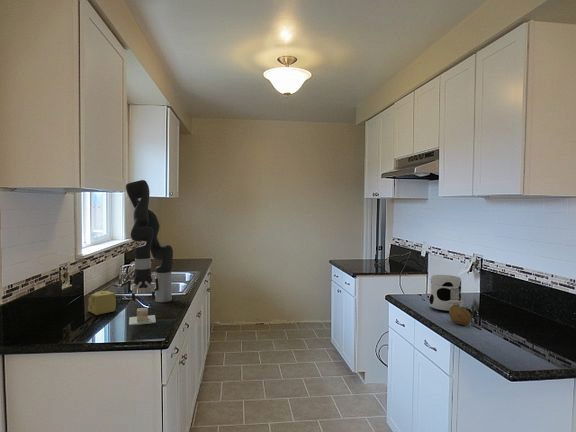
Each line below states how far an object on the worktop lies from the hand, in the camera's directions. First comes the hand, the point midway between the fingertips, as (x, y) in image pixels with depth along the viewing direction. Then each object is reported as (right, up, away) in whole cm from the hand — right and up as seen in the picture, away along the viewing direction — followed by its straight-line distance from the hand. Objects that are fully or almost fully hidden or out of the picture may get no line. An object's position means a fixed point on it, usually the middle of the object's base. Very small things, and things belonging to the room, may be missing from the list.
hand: (143, 299), depth 194 cm
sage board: (-1, -10, 0) cm, 10 cm away
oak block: (-1, -10, 0) cm, 10 cm away
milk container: (+158, -11, +23) cm, 160 cm away
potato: (+155, -11, -3) cm, 155 cm away
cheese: (-28, -10, +16) cm, 34 cm away
